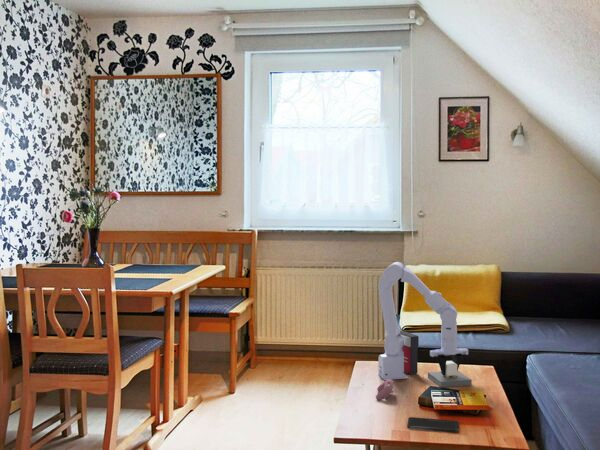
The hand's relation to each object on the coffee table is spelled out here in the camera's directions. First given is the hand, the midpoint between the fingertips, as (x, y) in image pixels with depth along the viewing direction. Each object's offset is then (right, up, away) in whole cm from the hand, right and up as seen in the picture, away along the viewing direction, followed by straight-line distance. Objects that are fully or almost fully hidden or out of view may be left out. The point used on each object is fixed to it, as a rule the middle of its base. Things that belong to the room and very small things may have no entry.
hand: (449, 374), depth 217 cm
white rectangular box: (0, -2, 0) cm, 2 cm away
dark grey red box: (-14, -2, +14) cm, 20 cm away
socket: (0, -3, 0) cm, 3 cm away
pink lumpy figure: (-26, -4, -15) cm, 31 cm away
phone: (-16, -5, -42) cm, 45 cm away
